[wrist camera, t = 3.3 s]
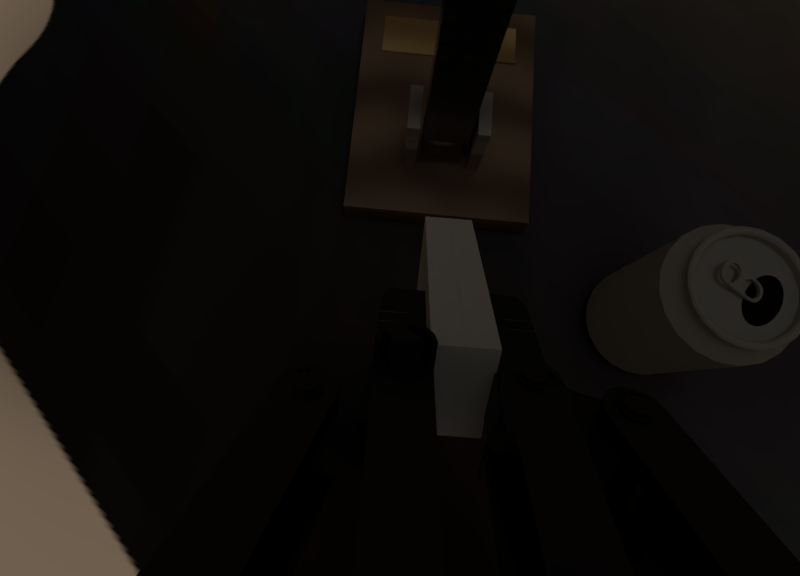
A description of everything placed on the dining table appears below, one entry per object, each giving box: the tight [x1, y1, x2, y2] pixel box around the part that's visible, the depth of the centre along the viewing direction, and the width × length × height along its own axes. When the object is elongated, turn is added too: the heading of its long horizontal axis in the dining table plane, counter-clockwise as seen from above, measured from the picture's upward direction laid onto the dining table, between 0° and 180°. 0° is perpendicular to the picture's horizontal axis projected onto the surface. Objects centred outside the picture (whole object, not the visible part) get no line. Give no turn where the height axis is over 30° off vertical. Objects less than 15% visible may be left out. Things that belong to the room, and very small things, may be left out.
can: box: [586, 224, 800, 375], centre depth 30 cm, size 8×8×12 cm
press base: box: [344, 0, 535, 233], centre depth 35 cm, size 17×13×7 cm
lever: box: [421, 0, 517, 157], centre depth 25 cm, size 3×3×21 cm
